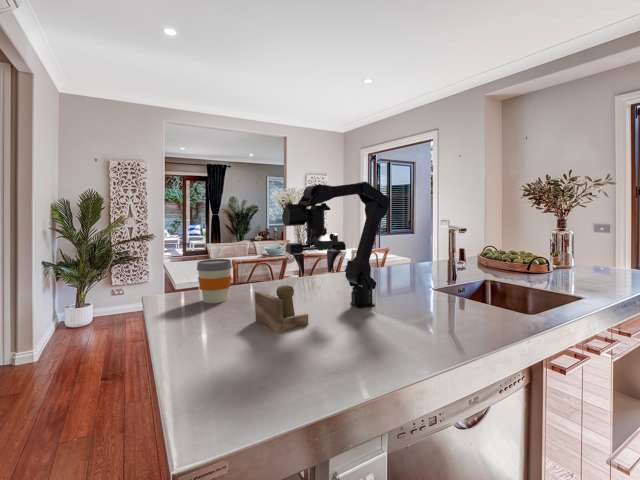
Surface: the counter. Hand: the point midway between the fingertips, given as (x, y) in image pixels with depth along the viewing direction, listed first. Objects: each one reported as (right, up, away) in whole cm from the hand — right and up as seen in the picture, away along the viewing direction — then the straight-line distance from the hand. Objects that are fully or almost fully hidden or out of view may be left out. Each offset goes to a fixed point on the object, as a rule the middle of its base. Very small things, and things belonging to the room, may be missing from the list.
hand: (316, 273), depth 109 cm
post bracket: (-9, -14, -7) cm, 18 cm away
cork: (-9, -14, -7) cm, 18 cm away
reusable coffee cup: (-38, -12, +20) cm, 45 cm away
